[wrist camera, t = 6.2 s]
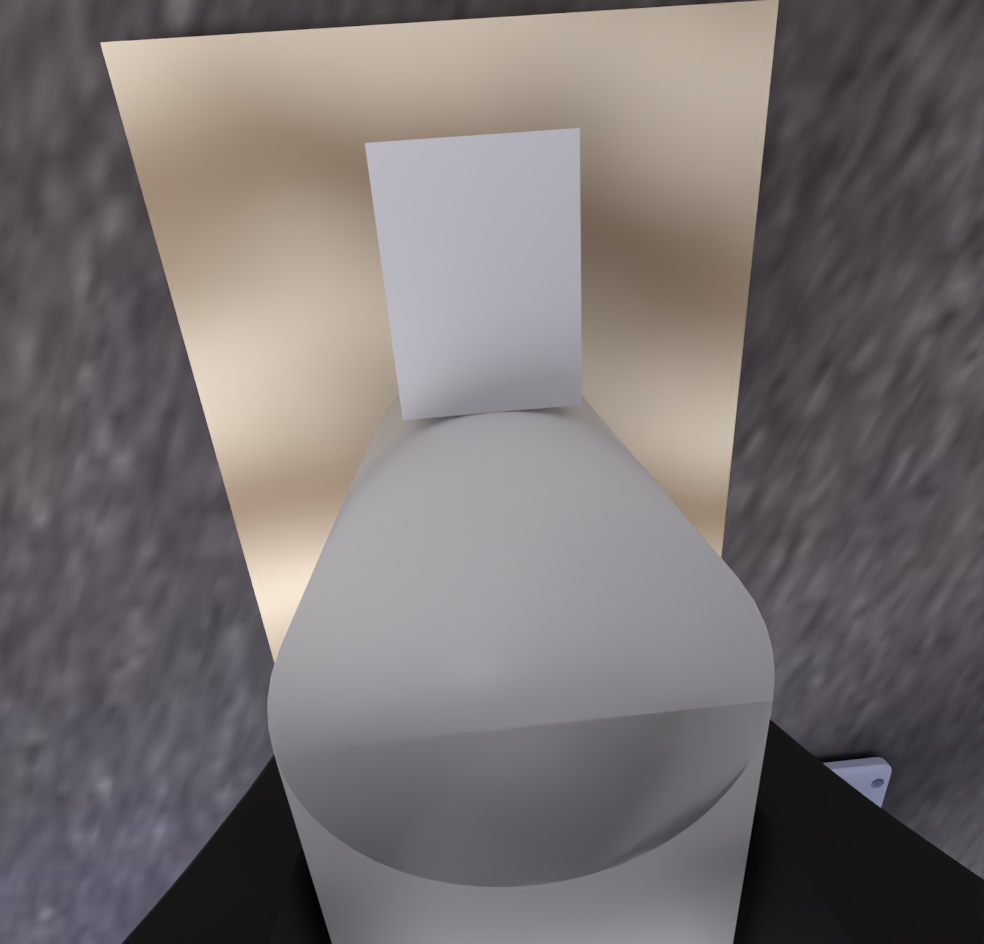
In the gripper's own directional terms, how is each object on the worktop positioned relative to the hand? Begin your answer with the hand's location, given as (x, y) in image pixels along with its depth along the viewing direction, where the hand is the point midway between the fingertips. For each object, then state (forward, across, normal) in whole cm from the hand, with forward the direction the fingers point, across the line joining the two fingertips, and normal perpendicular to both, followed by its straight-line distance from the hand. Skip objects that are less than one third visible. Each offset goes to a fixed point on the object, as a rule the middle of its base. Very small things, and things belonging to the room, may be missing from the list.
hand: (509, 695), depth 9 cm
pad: (+8, 0, 0) cm, 8 cm away
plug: (+2, 0, -1) cm, 2 cm away
